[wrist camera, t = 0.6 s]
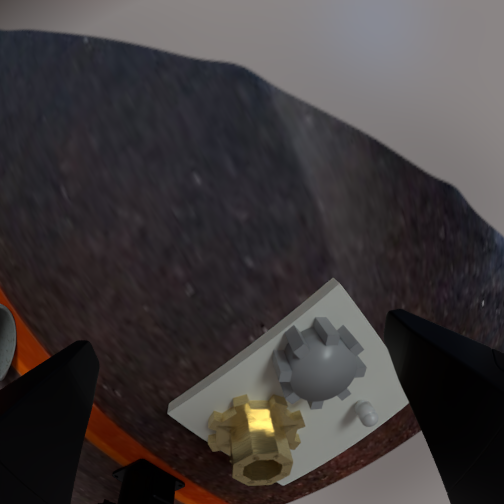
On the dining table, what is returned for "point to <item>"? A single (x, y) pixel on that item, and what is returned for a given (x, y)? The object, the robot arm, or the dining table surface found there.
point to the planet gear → (257, 438)
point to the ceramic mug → (6, 340)
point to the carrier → (308, 379)
